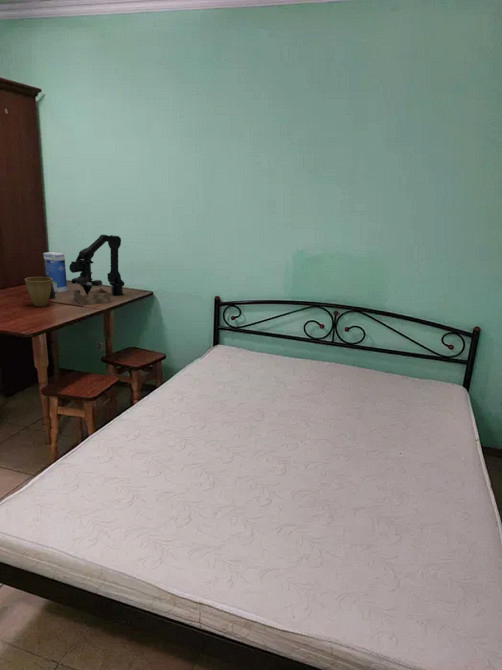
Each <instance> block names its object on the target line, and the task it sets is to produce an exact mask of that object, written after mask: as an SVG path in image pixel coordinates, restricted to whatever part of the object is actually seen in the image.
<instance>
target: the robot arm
mask: <svg viewBox="0 0 502 670" xmlns="http://www.w3.org/2000/svg"><path fill="white" fill-rule="evenodd" d="M105 243H107V244H108V247H109V249H110V271H109V272H108V273H107V279H106V280H107V282H108V283H109V285H110V286H111V289H110V290H111V291H110V295H113V296H123V295H124V292H123V287H124V286H125V282H124V280H122V276H121V272H120V270H119V249H120V247H121V245H122V244H121V243H122V238H121V237H120V236H119V235H113V234H111V235H107V234H100V235H99V237H98V238H97V239H95V240H94V242H93V243H91V244H90V245H89V246H88V247H85V248H83V249H81V250H80V251H79V252H78V255H77V258H76V259H75V261H74V260H73V261H72V260H71V262H70V265H69V266H68V267H69V271H70V272H71V273H73V274H75V273H80V274H79V276H78V277H75V278H71V281H70V282H71V284H75V285H76V284H77V285H79V286H80V287H82V288H83V291H84V293H85V295H88V292H90V291H92V290H91V289H92V288H93V286H94V287H99V286H103V281H102V280H101V279H95V280H93V279H94V278H92V275H93V272H92V267H91V266H92V264H95V263H94V261H93V260H92V259H93V257H94V255H95V253H96V252H97V251H98V250H99V249H100V248H101V247H102V246H103V245H104V244H105Z"/></svg>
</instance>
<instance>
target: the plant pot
mask: <svg viewBox="0 0 502 670" xmlns="http://www.w3.org/2000/svg"><path fill="white" fill-rule="evenodd" d="M24 280H25V281H24V282H25V285H26V288H27V292H28V294H29V297H30V301H32V303H33V305H34V306H36V307H45V306H47V305H48V304H49V300H50V299H49V297H50V292H51V286H52V278H49V277H44V276H31V277H26V278H24Z"/></svg>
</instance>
